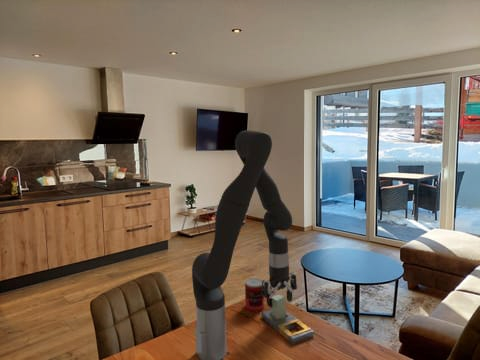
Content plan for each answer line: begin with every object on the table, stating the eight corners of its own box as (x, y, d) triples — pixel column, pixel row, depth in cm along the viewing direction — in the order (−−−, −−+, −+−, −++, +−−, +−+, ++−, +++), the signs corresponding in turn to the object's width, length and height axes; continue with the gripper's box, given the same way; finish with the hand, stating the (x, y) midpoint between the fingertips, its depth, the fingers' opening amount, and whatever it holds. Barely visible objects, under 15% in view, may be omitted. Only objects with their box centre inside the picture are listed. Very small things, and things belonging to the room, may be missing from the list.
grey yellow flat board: (292, 344, 115) (292, 338, 115) (261, 317, 133) (261, 311, 133) (313, 336, 119) (313, 330, 119) (281, 311, 137) (280, 305, 137)
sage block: (277, 323, 128) (276, 301, 127) (271, 318, 131) (271, 296, 130) (286, 321, 130) (285, 298, 128) (280, 316, 133) (279, 294, 132)
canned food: (255, 300, 146) (254, 276, 145) (268, 307, 140) (268, 282, 138) (241, 306, 141) (240, 281, 140) (254, 314, 135) (253, 287, 134)
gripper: (267, 270, 121) (269, 313, 123) (300, 262, 127) (301, 302, 129) (257, 263, 127) (258, 304, 130) (288, 256, 134) (289, 294, 136)
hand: (279, 303), depth 130 cm, fingers open, 8 cm apart
